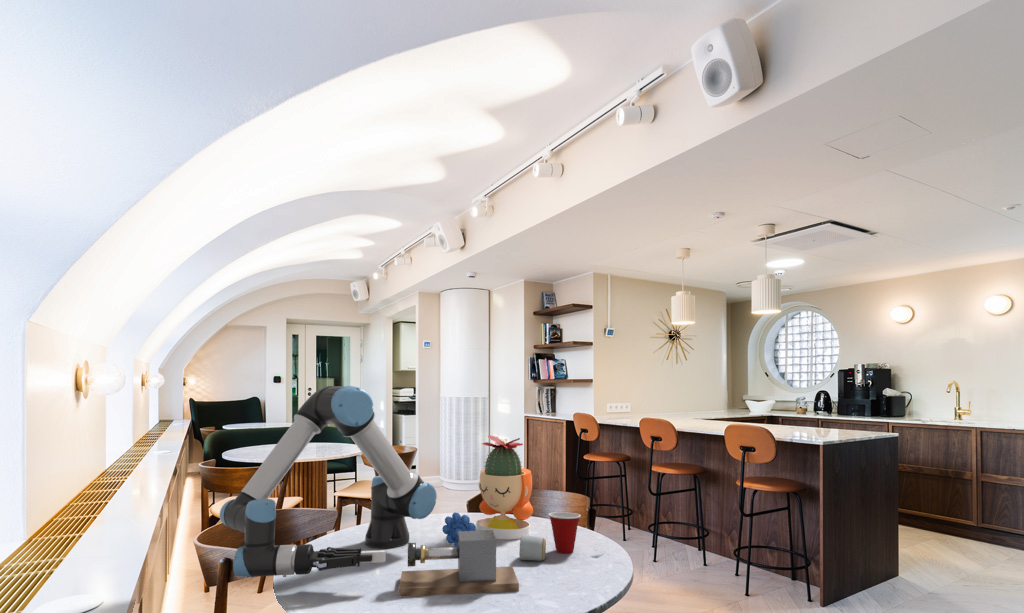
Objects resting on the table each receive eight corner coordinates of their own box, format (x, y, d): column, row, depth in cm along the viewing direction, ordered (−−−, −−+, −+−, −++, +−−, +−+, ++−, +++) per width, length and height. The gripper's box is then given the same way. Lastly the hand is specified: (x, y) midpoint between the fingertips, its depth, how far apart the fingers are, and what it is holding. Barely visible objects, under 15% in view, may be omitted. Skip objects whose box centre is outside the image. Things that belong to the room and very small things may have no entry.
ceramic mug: (544, 564, 180) (544, 539, 181) (519, 562, 181) (519, 538, 182) (547, 554, 190) (546, 530, 191) (523, 553, 191) (523, 530, 192)
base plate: (398, 596, 154) (398, 588, 154) (401, 578, 167) (401, 571, 168) (518, 590, 158) (518, 583, 158) (512, 573, 171) (512, 566, 172)
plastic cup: (584, 547, 197) (584, 511, 198) (577, 557, 187) (576, 518, 188) (553, 544, 200) (553, 508, 202) (544, 553, 190) (544, 515, 192)
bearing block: (459, 583, 158) (459, 541, 159) (458, 571, 168) (458, 531, 169) (496, 581, 159) (496, 539, 160) (492, 569, 169) (492, 530, 170)
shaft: (407, 569, 158) (407, 546, 159) (408, 562, 164) (408, 540, 165) (473, 566, 161) (473, 544, 161) (472, 559, 167) (472, 538, 167)
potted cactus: (515, 542, 203) (515, 440, 207) (464, 533, 215) (465, 436, 219) (546, 528, 221) (545, 434, 225) (497, 520, 233) (497, 431, 237)
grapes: (440, 553, 191) (440, 515, 192) (443, 547, 198) (443, 510, 199) (475, 553, 191) (475, 515, 192) (477, 547, 197) (477, 510, 199)
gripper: (301, 566, 164) (386, 562, 167) (289, 582, 151) (382, 578, 154) (302, 538, 165) (387, 535, 168) (290, 552, 152) (383, 548, 155)
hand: (385, 556), depth 161 cm, fingers closed
